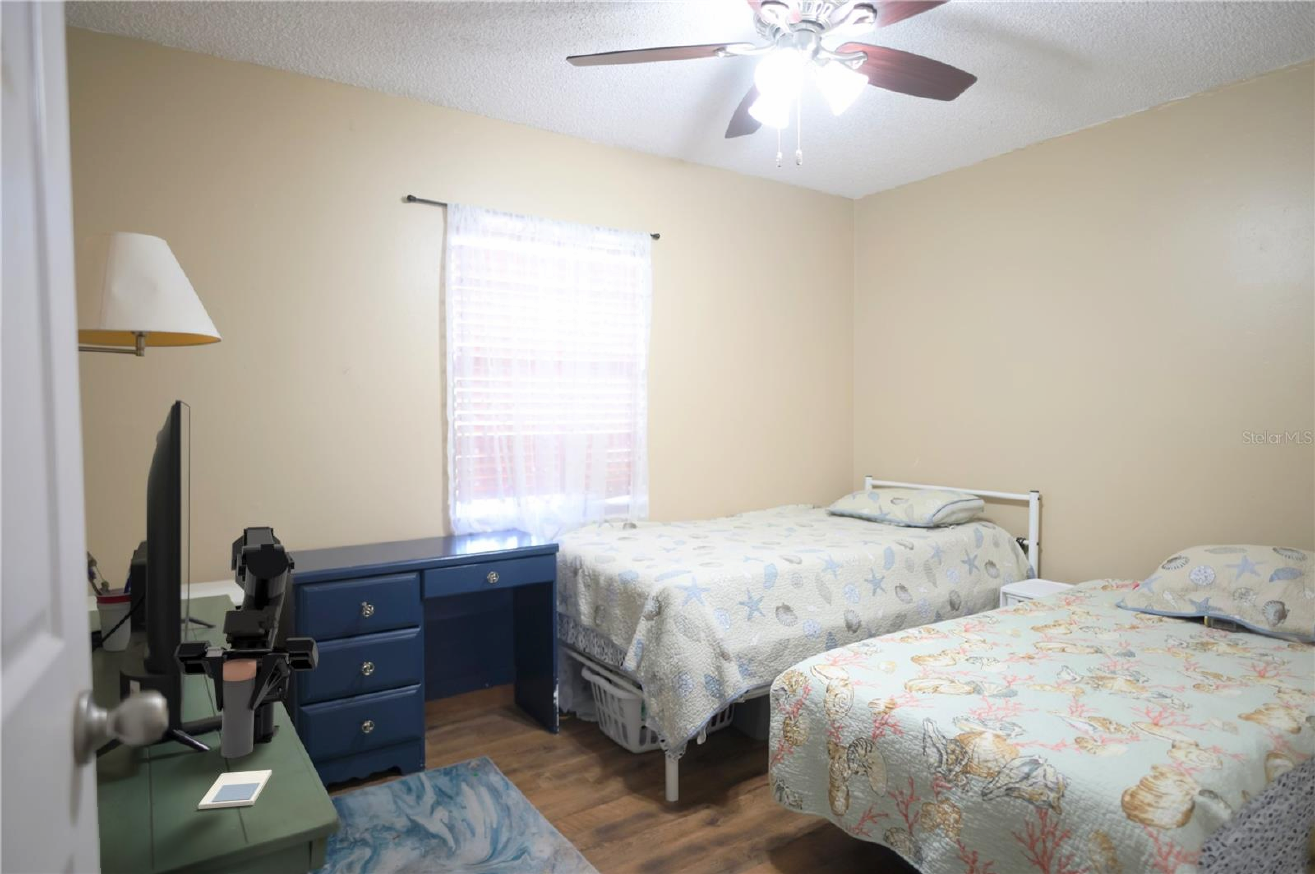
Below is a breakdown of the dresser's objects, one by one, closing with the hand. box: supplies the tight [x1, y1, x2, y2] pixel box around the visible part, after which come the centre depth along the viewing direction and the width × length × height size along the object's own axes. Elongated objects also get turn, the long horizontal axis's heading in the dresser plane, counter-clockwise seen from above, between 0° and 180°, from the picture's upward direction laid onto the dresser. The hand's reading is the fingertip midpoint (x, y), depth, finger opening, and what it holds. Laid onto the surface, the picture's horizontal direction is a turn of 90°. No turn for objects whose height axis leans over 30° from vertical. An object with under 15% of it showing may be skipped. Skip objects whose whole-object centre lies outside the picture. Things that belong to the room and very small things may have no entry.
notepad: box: [197, 769, 273, 810], centre depth 111 cm, size 10×7×1 cm
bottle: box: [220, 658, 256, 759], centre depth 109 cm, size 4×4×13 cm
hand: (235, 710), depth 108 cm, fingers closed on bottle, 4 cm apart
